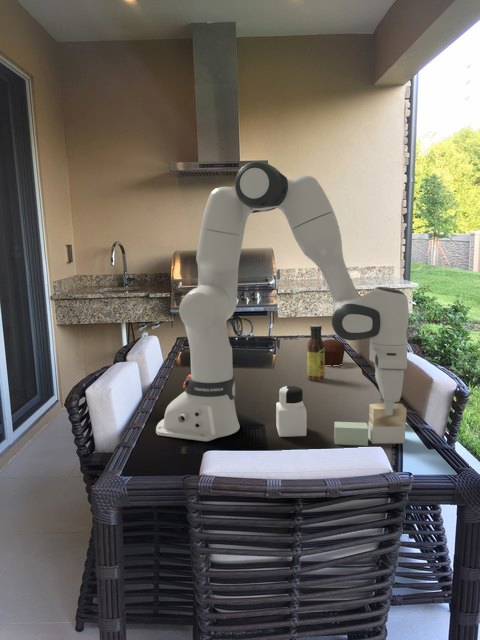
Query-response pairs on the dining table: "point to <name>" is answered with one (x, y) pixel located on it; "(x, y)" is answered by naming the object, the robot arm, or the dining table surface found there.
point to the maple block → (387, 416)
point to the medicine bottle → (291, 412)
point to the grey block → (386, 434)
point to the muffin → (333, 352)
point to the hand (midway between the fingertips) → (385, 408)
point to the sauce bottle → (316, 355)
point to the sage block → (351, 433)
